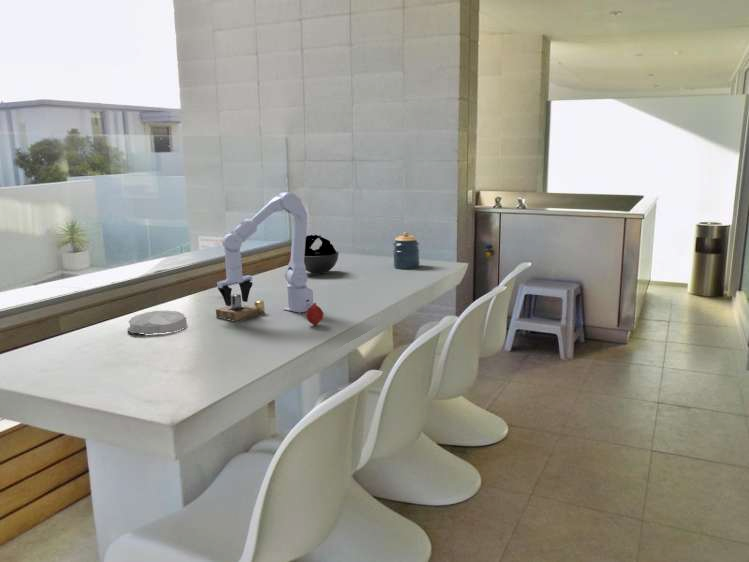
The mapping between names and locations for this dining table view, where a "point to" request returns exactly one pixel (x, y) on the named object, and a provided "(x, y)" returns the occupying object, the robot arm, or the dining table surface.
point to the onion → (314, 314)
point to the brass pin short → (260, 306)
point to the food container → (157, 322)
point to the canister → (406, 252)
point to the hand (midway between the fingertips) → (236, 303)
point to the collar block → (237, 313)
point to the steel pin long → (236, 302)
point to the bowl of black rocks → (319, 255)
